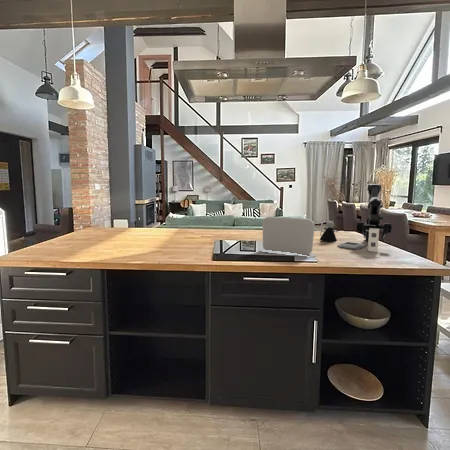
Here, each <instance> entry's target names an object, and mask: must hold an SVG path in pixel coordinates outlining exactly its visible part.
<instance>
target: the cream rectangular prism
mask: <svg viewBox="0 0 450 450" xmlns="http://www.w3.org/2000/svg"><path fill="white" fill-rule="evenodd" d="M368 231H369V239H368V241H367V251H368V252H374V251H375V252H376V253H377V252H378V251H379V240H380V237H379V236H380V229H379V228H369V230H368Z"/></svg>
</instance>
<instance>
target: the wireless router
mask: <svg viewBox="0 0 450 450" xmlns="http://www.w3.org/2000/svg"><path fill="white" fill-rule="evenodd" d="M314 235H315V222H314V220H312V219H310V218H301V217H300V218H299V217H290V216H289V217H286V216H267V217H265V218H264V219H262V249H265V250H272V251H281V252H290V253H297V254H302V255H307V256H310V257H312V258H316V257H317V255H316V253H312V251H313V247H314Z"/></svg>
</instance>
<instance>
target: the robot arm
mask: <svg viewBox="0 0 450 450" xmlns="http://www.w3.org/2000/svg"><path fill="white" fill-rule="evenodd" d="M366 190H367V191H366V192H367V194H368V196H369V201H368V203H367V210H368V217H367V219H366V221H365V222H364V221H357V222H356V231H358V232H360V233H361V234H362V236H363V238H364V239H363V242H368V239H369V228H379V230H382V235H381V240H382V241H383V239H384V238H385V236H386V234H387V235H388V234H390V233H392V228H393V225H392V223H386V222H384V224H383V225H380V223H381V222H380V221H383V220H384V214H383V213H380V211H381V209H382V208H383V204H382V202H381V199H379V195H380V192H381V191H382V185H381V184H379V183H369V184H367V189H366Z"/></svg>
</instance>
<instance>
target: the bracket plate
mask: <svg viewBox="0 0 450 450" xmlns="http://www.w3.org/2000/svg"><path fill="white" fill-rule="evenodd" d="M365 247H368V244H365V243H361V242H360V243H359V242H352V241H351V242H350V241H345V242H341V243H340V244H338V245H337V248H342V249H349V250H356V251H357V250H361V249H363V248H365Z"/></svg>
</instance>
